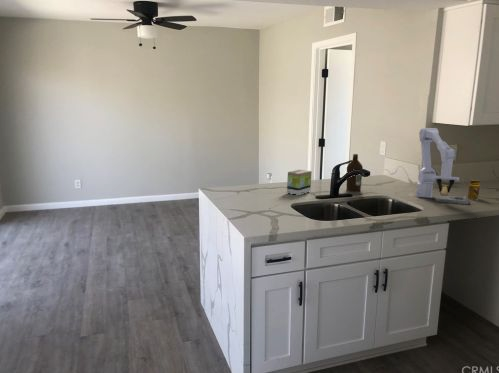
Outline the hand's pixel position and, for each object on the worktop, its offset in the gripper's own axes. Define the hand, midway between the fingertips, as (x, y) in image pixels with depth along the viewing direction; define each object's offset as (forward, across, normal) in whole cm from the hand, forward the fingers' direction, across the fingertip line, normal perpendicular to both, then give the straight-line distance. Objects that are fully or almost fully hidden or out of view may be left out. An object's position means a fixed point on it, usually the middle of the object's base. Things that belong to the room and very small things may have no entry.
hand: (444, 191), depth 254 cm
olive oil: (+8, -56, +16) cm, 59 cm away
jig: (+7, +5, +9) cm, 13 cm away
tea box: (+8, -88, -8) cm, 89 cm away
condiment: (+8, +17, +23) cm, 29 cm away
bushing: (+2, 0, 0) cm, 2 cm away
